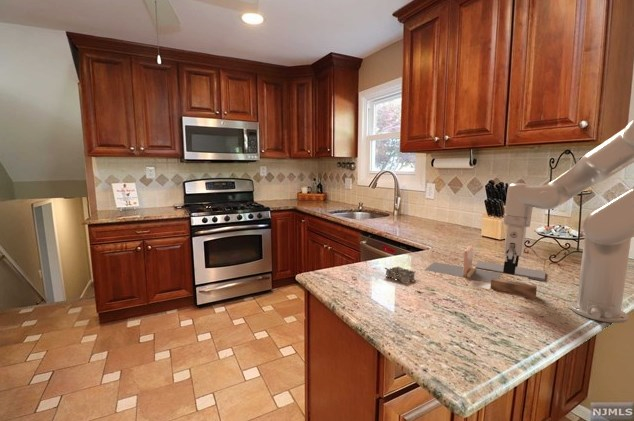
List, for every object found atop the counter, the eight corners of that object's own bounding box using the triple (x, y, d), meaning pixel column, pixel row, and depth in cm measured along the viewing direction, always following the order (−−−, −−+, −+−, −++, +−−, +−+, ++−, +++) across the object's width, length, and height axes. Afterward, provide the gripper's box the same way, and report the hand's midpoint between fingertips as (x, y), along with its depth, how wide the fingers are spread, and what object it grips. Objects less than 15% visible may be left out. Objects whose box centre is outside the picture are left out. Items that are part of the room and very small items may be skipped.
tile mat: (495, 284, 112) (496, 280, 112) (424, 270, 128) (424, 266, 128) (500, 274, 123) (501, 270, 122) (434, 263, 138) (434, 259, 138)
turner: (536, 294, 104) (537, 284, 103) (535, 300, 99) (536, 290, 99) (471, 281, 116) (471, 272, 115) (467, 286, 111) (468, 277, 111)
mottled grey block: (383, 277, 122) (383, 267, 122) (395, 273, 127) (395, 263, 126) (405, 284, 114) (405, 274, 113) (417, 280, 118) (417, 270, 118)
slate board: (544, 281, 115) (544, 278, 115) (474, 269, 130) (474, 266, 130) (545, 273, 123) (545, 271, 123) (478, 263, 138) (478, 260, 137)
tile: (466, 276, 120) (467, 251, 118) (462, 275, 120) (464, 251, 119) (471, 269, 128) (473, 246, 126) (468, 269, 128) (469, 245, 127)
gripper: (528, 226, 93) (521, 280, 96) (532, 218, 107) (525, 265, 110) (500, 223, 98) (494, 274, 101) (507, 215, 111) (501, 260, 114)
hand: (510, 269), depth 105 cm, fingers open, 9 cm apart
